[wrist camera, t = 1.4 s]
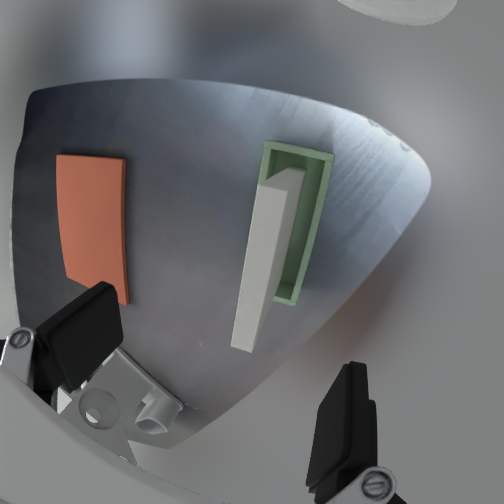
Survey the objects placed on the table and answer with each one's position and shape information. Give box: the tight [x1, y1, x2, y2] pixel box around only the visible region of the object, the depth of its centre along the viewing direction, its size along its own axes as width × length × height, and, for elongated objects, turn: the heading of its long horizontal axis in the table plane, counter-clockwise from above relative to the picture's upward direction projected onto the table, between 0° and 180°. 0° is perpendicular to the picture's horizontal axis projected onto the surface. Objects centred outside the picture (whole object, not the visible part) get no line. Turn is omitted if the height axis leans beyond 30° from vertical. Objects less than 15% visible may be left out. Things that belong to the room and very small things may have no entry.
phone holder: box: [60, 347, 184, 466], centre depth 36 cm, size 17×10×18 cm, turn 46°
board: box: [231, 166, 307, 353], centre depth 19 cm, size 10×1×12 cm, turn 171°
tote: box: [240, 140, 335, 307], centre depth 24 cm, size 14×5×4 cm, turn 171°
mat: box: [57, 154, 130, 306], centre depth 32 cm, size 20×14×1 cm
